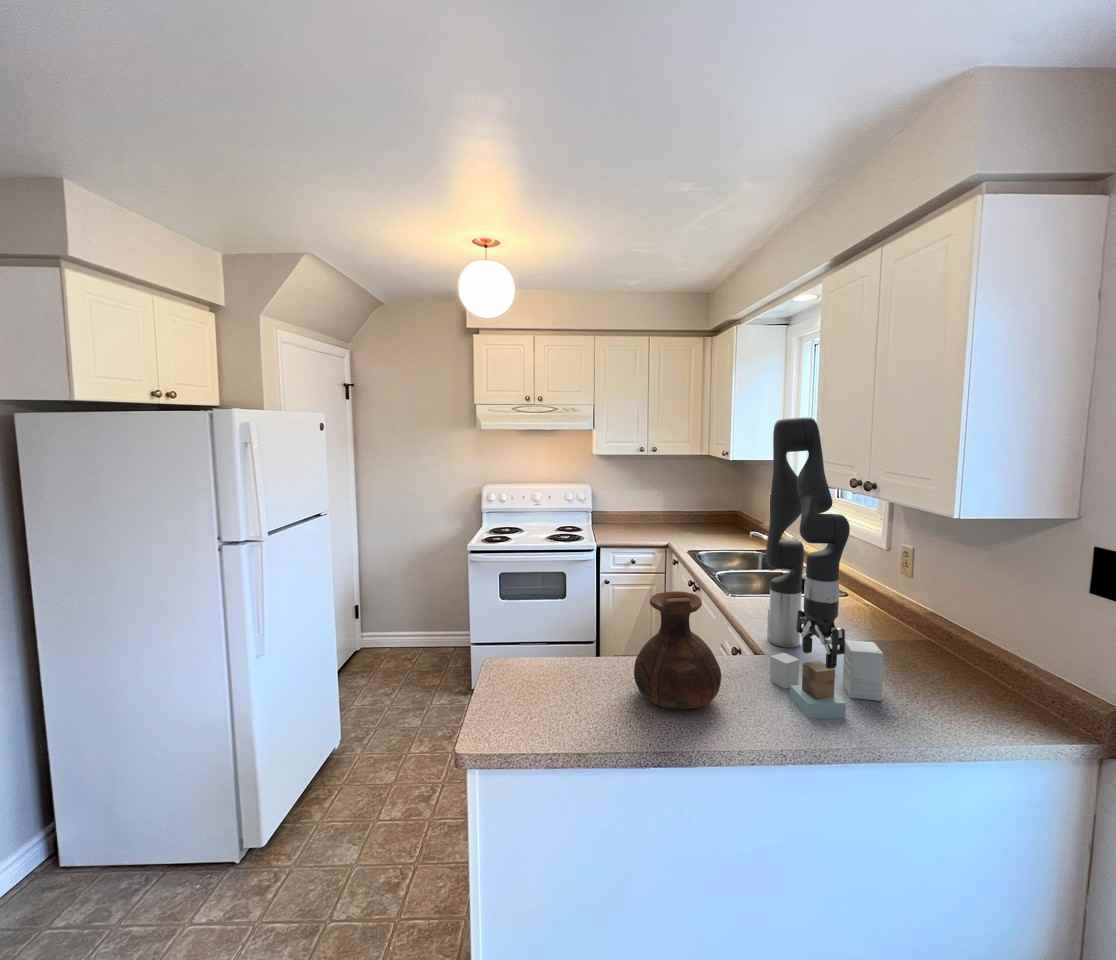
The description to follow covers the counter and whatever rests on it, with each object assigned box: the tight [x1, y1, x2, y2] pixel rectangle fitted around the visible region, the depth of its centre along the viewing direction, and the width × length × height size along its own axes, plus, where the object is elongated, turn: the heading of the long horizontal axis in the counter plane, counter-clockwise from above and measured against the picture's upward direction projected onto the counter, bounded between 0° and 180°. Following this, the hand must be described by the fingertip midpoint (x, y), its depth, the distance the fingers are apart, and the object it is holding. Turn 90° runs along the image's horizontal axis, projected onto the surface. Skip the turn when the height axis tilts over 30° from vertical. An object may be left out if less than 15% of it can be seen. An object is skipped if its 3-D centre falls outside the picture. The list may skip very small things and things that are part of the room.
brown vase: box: [633, 590, 722, 710], centre depth 133 cm, size 22×22×30 cm
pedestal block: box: [789, 684, 847, 719], centre depth 129 cm, size 9×9×4 cm
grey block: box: [769, 652, 800, 689], centre depth 142 cm, size 5×5×7 cm
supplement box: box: [842, 639, 884, 702], centre depth 135 cm, size 7×7×13 cm
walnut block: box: [801, 660, 836, 700], centre depth 129 cm, size 5×5×7 cm
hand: (818, 660), depth 128 cm, fingers open, 8 cm apart
